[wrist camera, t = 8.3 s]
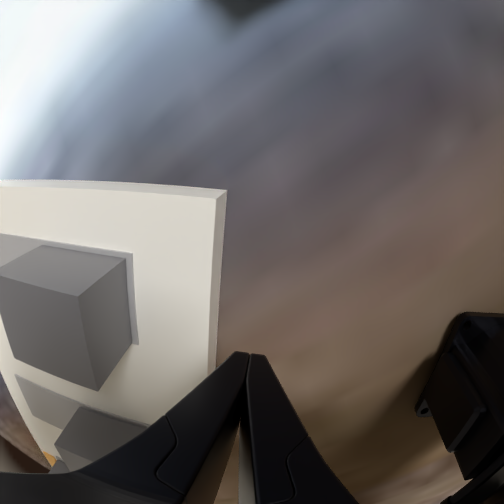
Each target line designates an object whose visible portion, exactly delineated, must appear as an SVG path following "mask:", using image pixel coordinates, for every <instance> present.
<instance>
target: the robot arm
mask: <svg viewBox="0 0 504 504" xmlns="http://www.w3.org/2000/svg"><path fill="white" fill-rule="evenodd" d="M466 321H467V323H466V324H465V325H464V323H465V322H466ZM415 412H416V415H417V416H418V417H429V416H433V419H434V421H435V423H436V426H437V428H438V430H439V433H440V435H441V438H442V440H443V443H444V445H445V448H446V449H447V451H448V452H450V453H451V452H454V454H455V457H456V459H457V462H458V465H459V467H460V470H461V472H462V475H463V478H464V480H469V479H472V480H471V481H470V482H469V483H468V484H466V485H465V486H464V487H463V488H461V489H460V490H459V491H458V492H456V493H455V494H454V495H452V496H449V497H447V498H446V499H445V500H443V501H442V502H441V503H440V504H504V314H500V313H481V312H464V313H462V314H460V315H459V317H458V318H457V320H456V322H455V324H454V327H453V329H452V332H451V334H450V336H449V339H448V341H447V343H446V346H445V348H444V350H443V353H442V355H441V357H440V359H439V361H438V363H437V365H436V368H435V370H434V372H433V374H432V376H431V378H430V380H429V382H428V384H427V386H426V388H425V390H424V391H423V393H422V395H421V397H420V399H419V401H418V402H417V404H416V406H415ZM240 418H241V419H240ZM239 423H240V429H239V503H238V504H359V503H358V502H357V501H356V500H355V499H354V497H353V496H352V495H351V494H350V493H349V491H348V490H347V489H346V488H345V487H344V485H343V484H342V483H341V482H340V480H339V479H338V478H337V477H336V476H335V474H334V473H333V472H332V470H331V469H330V468H329V466H328V465H327V464H326V462H325V461H324V459H323V458H322V456H321V455H320V453H319V451H318V450H317V448H316V447H315V445H314V443H313V441H312V440H311V438H310V437H309V436H308V433H307V431H306V429H305V427H304V426H303V424H302V422H301V420H300V418H299V417H298V415H297V413H296V411H295V409H294V408H293V406H292V404H291V402H290V400H289V399H288V397H287V395H286V393H285V391H284V389H283V388H282V386H281V384H280V382H279V380H278V378H277V377H276V375H275V373H274V371H273V369H272V367H271V365H270V364H269V362H268V360H267V358H266V356H265V355H261V354H250V355H249V353H246V352H239V351H235V352H234V353H233V354H231V355H230V356H229V357H228V358H227V359H226V360H225V361H224V362H223V363H222V364H221V365H220V366H218V367H217V368H216V369H215V370H214V371H213V372H212V373H211V374H210V375H209V376H207V377H206V378H205V379H204V380H203V381H202V382H201V383H200V384H199V385H197V386H196V387H195V388H194V389H193V390H192V391H191V392H189V393H188V394H187V395H186V396H185V397H184V398H183V399H181V400H180V401H179V402H178V403H177V404H176V405H175V406H173V407H172V408H171V409H170V410H169V411H168V412H166V413H165V415H163V416H161V417H160V418H159V419H158V420H157V421H156V422H154V423H153V424H152V425H151V426H149V427H148V428H147V429H145V430H144V431H143V432H141V433H140V434H139V435H137V436H136V437H134V438H132V439H131V440H129V441H128V442H126V443H125V444H123V445H121V446H120V447H118V448H116V449H115V450H113V451H111V452H110V453H108V454H106V455H104V456H103V457H101V458H99V459H97V460H96V461H94V462H92V463H90V464H88V465H86V466H84V467H82V468H80V469H77V470H75V471H71V472H67V473H56V474H40V473H37V474H36V473H13V472H0V504H213V503H214V500H215V497H216V495H217V492H218V489H219V486H220V483H221V480H222V477H223V474H224V471H225V468H226V465H227V462H228V459H229V456H230V453H231V450H232V447H233V444H234V441H235V438H236V434H237V431H238V428H239ZM473 478H474V479H473Z"/></svg>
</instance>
